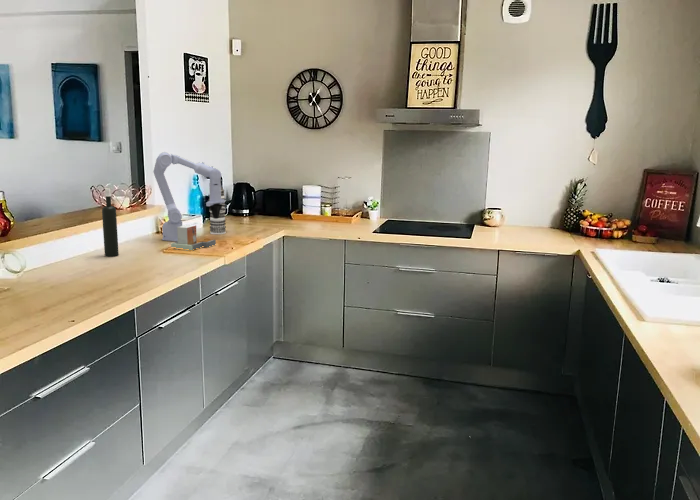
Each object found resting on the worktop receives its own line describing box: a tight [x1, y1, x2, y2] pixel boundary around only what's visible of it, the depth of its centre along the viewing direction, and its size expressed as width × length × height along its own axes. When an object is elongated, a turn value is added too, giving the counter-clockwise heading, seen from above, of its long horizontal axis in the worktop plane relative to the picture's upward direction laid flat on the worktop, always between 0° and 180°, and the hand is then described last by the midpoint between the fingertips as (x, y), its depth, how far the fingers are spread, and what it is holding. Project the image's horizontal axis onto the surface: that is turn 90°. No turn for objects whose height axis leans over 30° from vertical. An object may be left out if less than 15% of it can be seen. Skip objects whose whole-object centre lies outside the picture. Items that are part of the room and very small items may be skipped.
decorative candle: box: [208, 186, 227, 235], centre depth 321 cm, size 9×9×25 cm
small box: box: [177, 224, 198, 245], centre depth 284 cm, size 8×6×10 cm
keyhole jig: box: [170, 239, 217, 251], centre depth 287 cm, size 16×17×2 cm
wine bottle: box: [101, 187, 120, 258], centre depth 261 cm, size 6×6×30 cm
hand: (215, 218), depth 306 cm, fingers closed
